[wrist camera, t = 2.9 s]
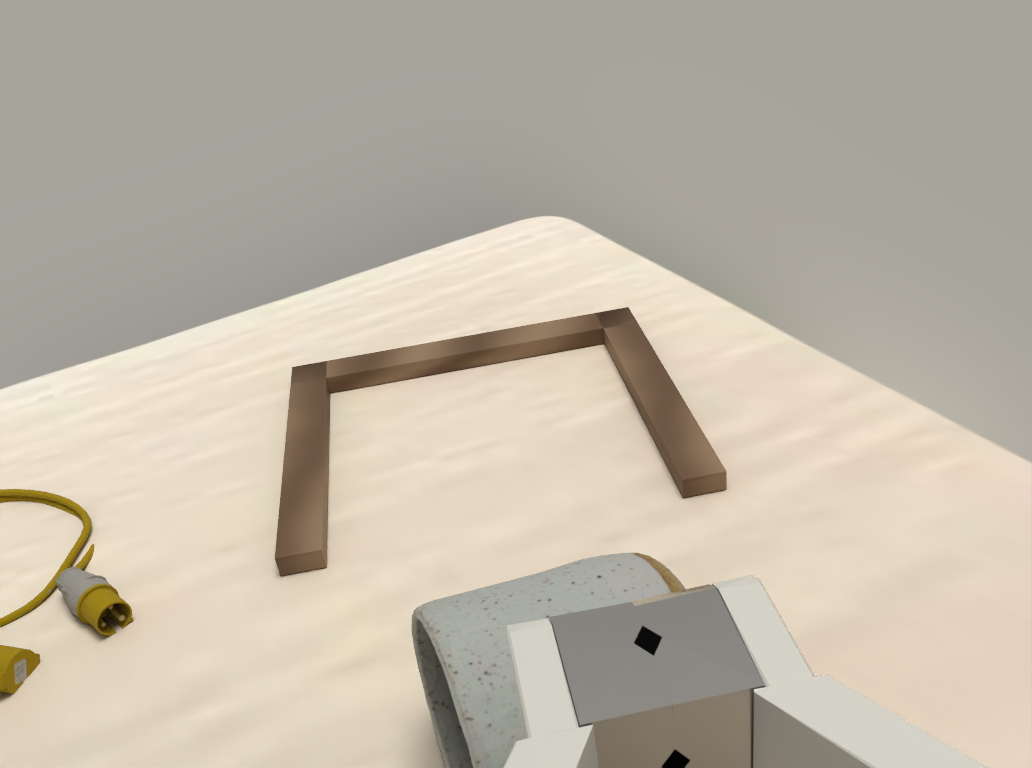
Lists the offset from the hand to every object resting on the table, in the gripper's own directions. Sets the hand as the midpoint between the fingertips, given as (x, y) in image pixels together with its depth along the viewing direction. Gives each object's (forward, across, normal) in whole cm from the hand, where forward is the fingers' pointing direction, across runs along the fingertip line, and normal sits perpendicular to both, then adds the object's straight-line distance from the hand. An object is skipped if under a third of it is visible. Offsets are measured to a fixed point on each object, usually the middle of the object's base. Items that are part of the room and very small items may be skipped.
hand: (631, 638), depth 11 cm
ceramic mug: (+14, 0, +19) cm, 23 cm away
